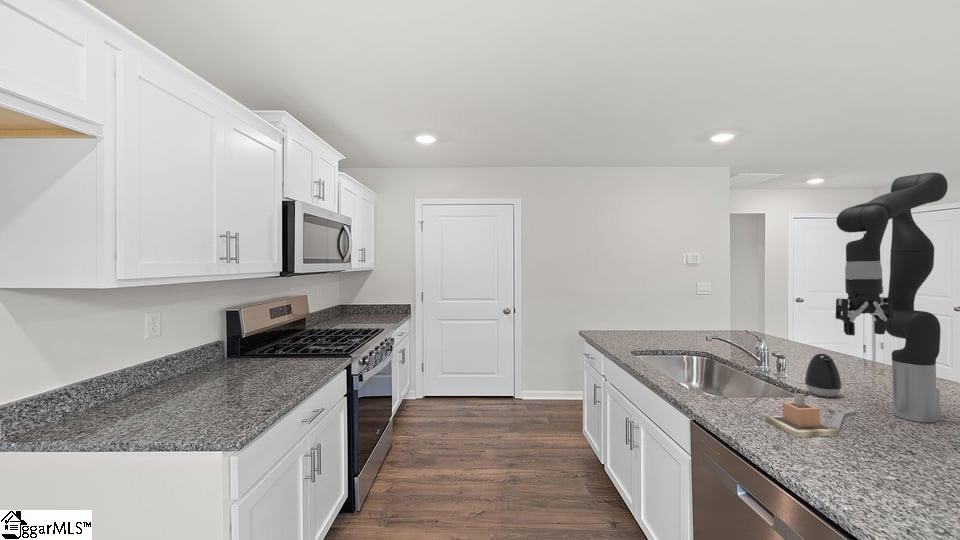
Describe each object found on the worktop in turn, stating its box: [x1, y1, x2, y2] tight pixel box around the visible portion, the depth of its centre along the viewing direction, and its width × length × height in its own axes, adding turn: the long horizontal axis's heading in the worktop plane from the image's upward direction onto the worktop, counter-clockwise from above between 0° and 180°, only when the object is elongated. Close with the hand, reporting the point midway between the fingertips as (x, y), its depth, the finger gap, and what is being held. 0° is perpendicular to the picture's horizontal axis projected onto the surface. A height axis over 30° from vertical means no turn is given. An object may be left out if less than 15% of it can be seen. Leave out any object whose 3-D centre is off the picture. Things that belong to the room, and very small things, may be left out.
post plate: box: [764, 392, 840, 438], centre depth 117 cm, size 12×12×10 cm
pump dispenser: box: [804, 353, 843, 398], centre depth 145 cm, size 10×10×15 cm
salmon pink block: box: [782, 401, 821, 427], centre depth 117 cm, size 6×6×5 cm
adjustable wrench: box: [826, 404, 857, 432], centre depth 123 cm, size 25×6×2 cm, turn 127°
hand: (864, 334), depth 112 cm, fingers open, 8 cm apart
